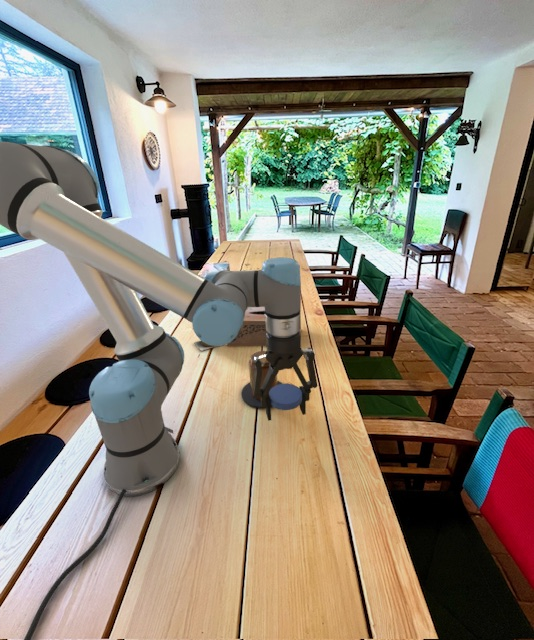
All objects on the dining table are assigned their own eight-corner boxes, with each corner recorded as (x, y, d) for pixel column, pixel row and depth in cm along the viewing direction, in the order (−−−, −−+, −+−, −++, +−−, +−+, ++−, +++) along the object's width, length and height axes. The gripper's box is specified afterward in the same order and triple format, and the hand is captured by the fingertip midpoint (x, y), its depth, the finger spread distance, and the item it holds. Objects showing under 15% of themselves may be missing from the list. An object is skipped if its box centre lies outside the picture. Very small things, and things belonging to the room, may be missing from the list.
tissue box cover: (297, 328, 129) (297, 305, 124) (297, 346, 116) (298, 321, 111) (234, 328, 131) (232, 305, 127) (227, 345, 118) (224, 320, 114)
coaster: (279, 412, 84) (279, 410, 84) (234, 403, 88) (233, 401, 88) (292, 384, 95) (292, 382, 95) (251, 377, 99) (251, 375, 99)
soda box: (226, 310, 149) (224, 283, 143) (196, 311, 148) (192, 285, 143) (231, 283, 186) (229, 261, 180) (207, 284, 185) (204, 262, 180)
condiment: (222, 344, 119) (219, 314, 114) (201, 351, 115) (196, 321, 110) (214, 337, 124) (210, 308, 119) (193, 343, 120) (189, 314, 115)
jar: (272, 402, 87) (271, 366, 82) (246, 397, 89) (244, 362, 84) (280, 386, 93) (280, 351, 89) (256, 381, 96) (254, 348, 91)
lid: (275, 387, 82) (275, 381, 81) (305, 392, 79) (305, 386, 78) (264, 406, 75) (263, 400, 74) (297, 413, 72) (297, 407, 71)
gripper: (237, 345, 64) (246, 432, 74) (335, 332, 68) (331, 416, 77) (233, 329, 71) (242, 410, 81) (322, 318, 74) (320, 397, 84)
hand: (285, 413), depth 79 cm, fingers closed on lid, 8 cm apart
